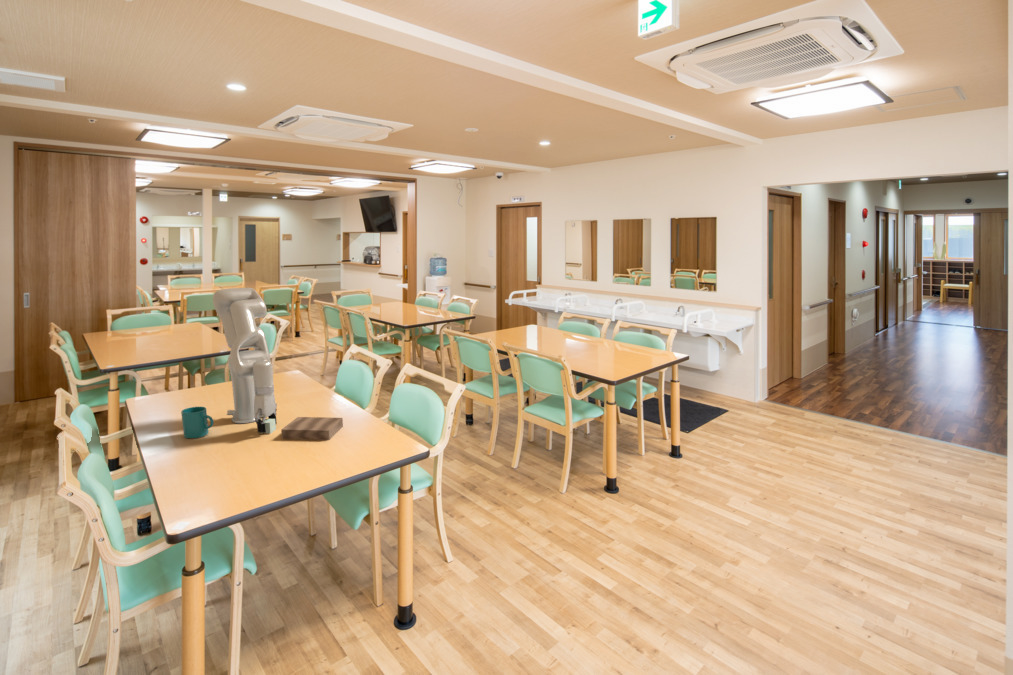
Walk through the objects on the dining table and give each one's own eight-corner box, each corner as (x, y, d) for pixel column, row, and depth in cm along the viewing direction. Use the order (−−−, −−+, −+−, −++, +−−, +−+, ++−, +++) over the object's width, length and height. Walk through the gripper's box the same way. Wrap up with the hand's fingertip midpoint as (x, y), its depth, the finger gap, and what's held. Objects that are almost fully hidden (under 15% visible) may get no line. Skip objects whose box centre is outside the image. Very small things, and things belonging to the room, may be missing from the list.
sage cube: (259, 433, 227) (258, 422, 226) (264, 429, 232) (263, 418, 231) (270, 434, 226) (269, 422, 225) (276, 429, 231) (275, 418, 230)
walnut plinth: (281, 438, 221) (281, 429, 220) (298, 425, 236) (297, 416, 236) (329, 439, 220) (328, 430, 219) (342, 426, 235) (342, 417, 235)
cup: (208, 439, 220) (206, 413, 218) (179, 439, 220) (176, 413, 218) (220, 431, 229) (217, 406, 227) (191, 431, 229) (189, 406, 227)
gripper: (265, 384, 234) (268, 421, 237) (244, 395, 217) (248, 435, 220) (282, 384, 234) (285, 421, 237) (262, 395, 217) (266, 435, 220)
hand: (267, 428), depth 229 cm, fingers open, 9 cm apart
